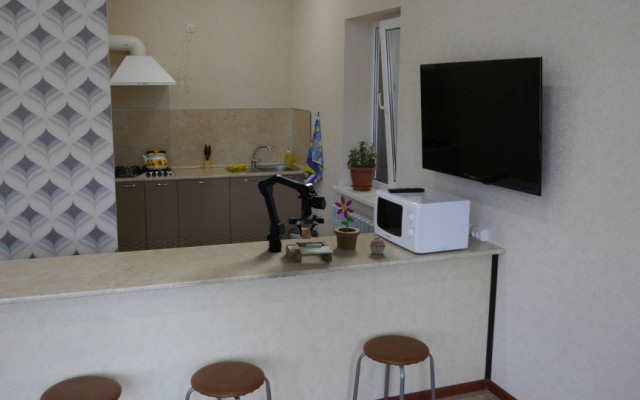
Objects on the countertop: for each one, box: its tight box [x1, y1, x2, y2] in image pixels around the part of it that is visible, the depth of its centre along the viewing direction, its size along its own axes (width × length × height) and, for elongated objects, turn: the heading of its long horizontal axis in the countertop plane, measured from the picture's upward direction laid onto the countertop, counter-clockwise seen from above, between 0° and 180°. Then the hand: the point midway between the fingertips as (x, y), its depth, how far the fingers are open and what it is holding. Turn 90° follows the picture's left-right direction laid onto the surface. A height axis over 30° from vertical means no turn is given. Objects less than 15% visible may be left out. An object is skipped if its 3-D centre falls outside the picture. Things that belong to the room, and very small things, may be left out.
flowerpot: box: [333, 195, 361, 251], centre depth 327 cm, size 14×14×30 cm
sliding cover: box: [298, 244, 334, 255], centre depth 301 cm, size 16×10×2 cm, turn 103°
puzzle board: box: [285, 240, 333, 263], centre depth 311 cm, size 22×18×6 cm
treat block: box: [299, 227, 312, 240], centre depth 310 cm, size 4×4×5 cm
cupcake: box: [368, 235, 387, 256], centre depth 320 cm, size 9×9×10 cm
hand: (305, 236), depth 310 cm, fingers closed on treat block, 4 cm apart
